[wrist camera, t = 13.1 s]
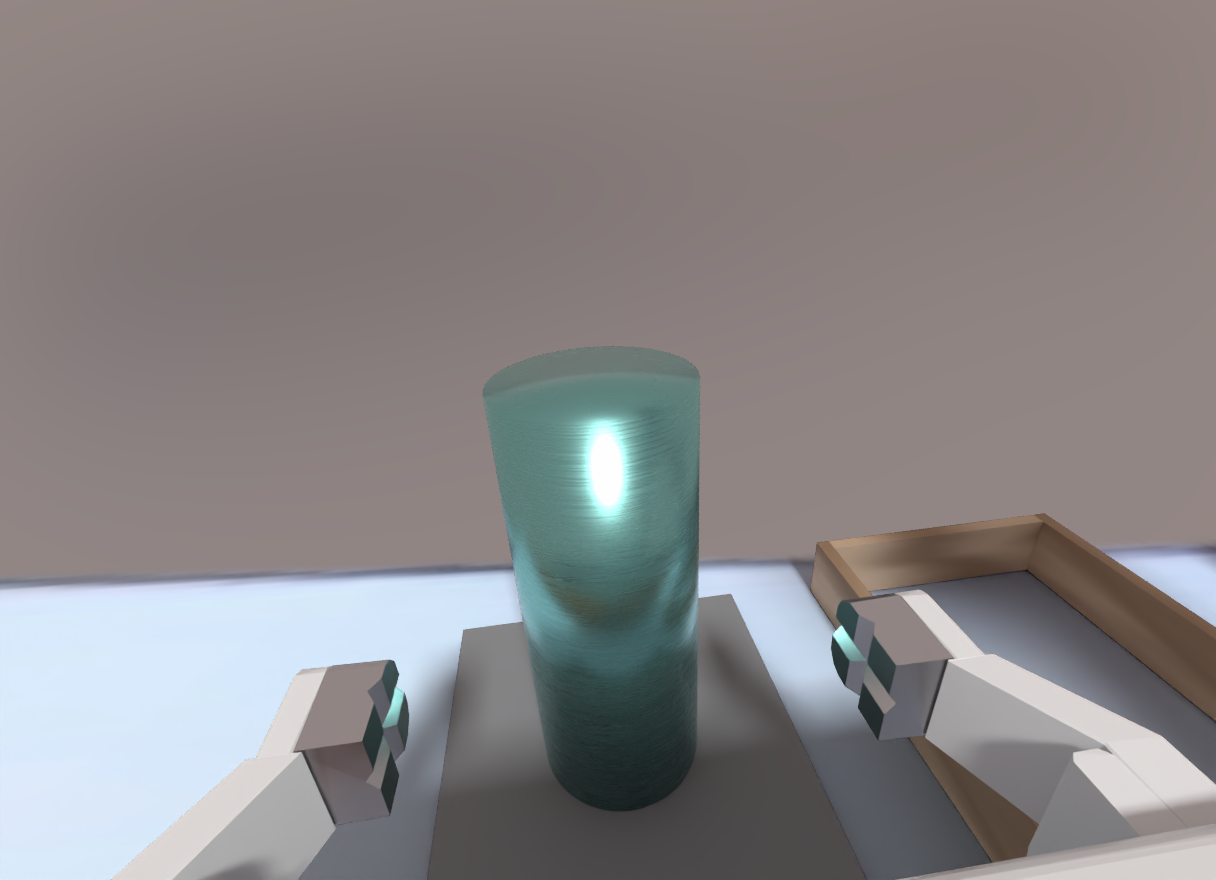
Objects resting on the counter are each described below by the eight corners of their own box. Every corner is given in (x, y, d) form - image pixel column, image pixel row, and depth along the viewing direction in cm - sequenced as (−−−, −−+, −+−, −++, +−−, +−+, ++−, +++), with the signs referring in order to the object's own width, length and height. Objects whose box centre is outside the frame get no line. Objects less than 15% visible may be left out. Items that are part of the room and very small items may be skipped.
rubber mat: (730, 601, 23) (730, 593, 23) (875, 913, 14) (878, 904, 13) (465, 637, 22) (463, 629, 22) (414, 1001, 13) (410, 992, 12)
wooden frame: (1028, 561, 25) (1044, 513, 23) (1475, 910, 13) (1548, 848, 12) (810, 590, 24) (816, 542, 23) (1080, 993, 12) (1120, 935, 11)
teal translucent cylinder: (676, 662, 20) (671, 338, 15) (716, 795, 16) (730, 408, 11) (543, 682, 20) (489, 357, 14) (548, 825, 15) (472, 437, 10)
